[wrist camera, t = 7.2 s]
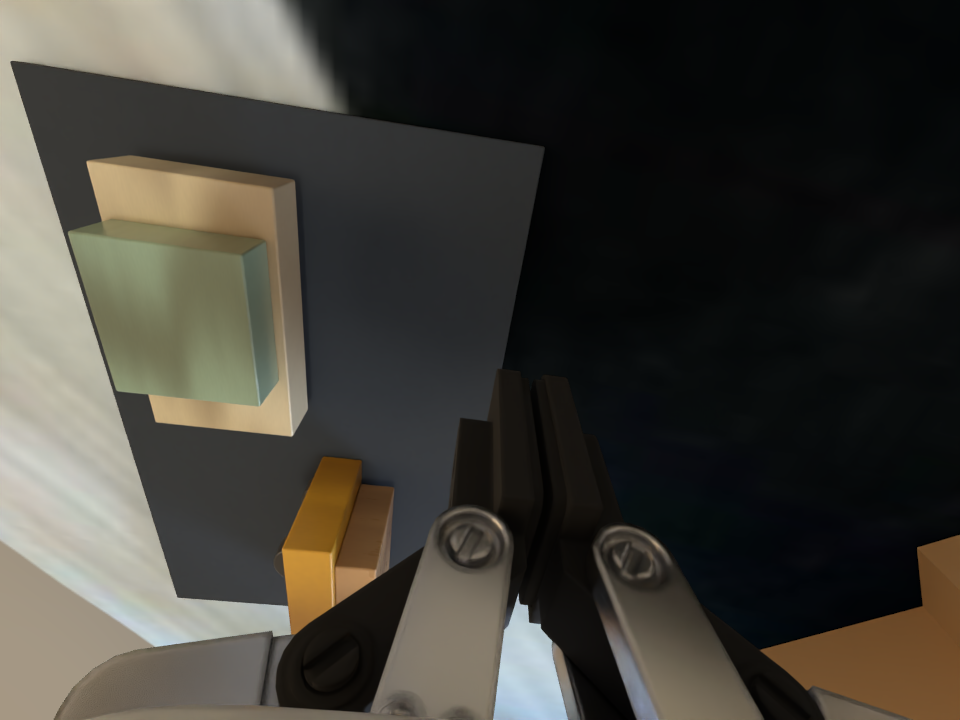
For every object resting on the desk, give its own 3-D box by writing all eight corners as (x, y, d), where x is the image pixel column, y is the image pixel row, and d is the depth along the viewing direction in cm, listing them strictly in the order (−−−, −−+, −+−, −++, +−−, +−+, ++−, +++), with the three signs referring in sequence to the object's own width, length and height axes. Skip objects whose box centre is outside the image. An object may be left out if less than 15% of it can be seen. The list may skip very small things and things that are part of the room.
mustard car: (309, 454, 20) (263, 547, 16) (396, 463, 21) (375, 557, 16) (317, 587, 25) (283, 687, 21) (387, 593, 25) (369, 692, 21)
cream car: (302, 176, 14) (142, 153, 14) (247, 197, 11) (32, 166, 11) (313, 401, 19) (191, 387, 18) (276, 467, 15) (124, 452, 15)
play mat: (21, 61, 13) (8, 60, 13) (543, 146, 14) (545, 147, 14) (181, 591, 26) (177, 597, 25) (453, 612, 27) (453, 618, 27)
